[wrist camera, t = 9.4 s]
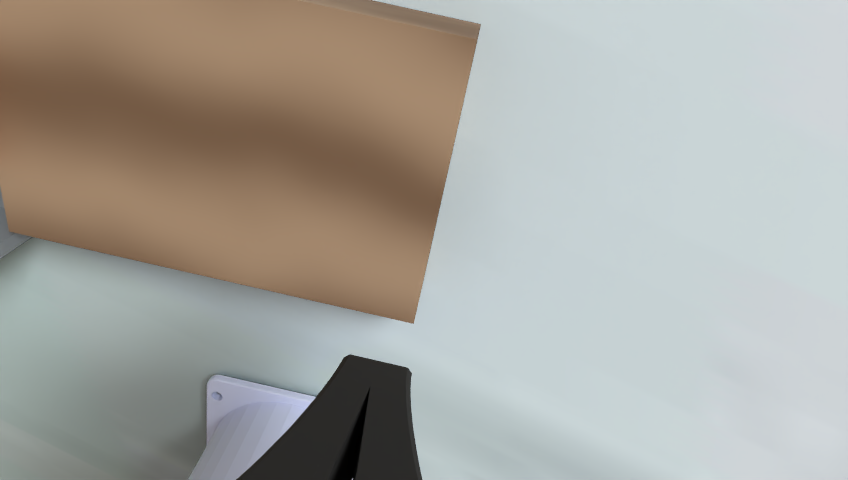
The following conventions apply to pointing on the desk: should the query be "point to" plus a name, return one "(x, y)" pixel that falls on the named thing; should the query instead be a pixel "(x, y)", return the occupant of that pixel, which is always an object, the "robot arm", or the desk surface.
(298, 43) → the walnut board
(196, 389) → the desk surface
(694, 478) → the desk surface
